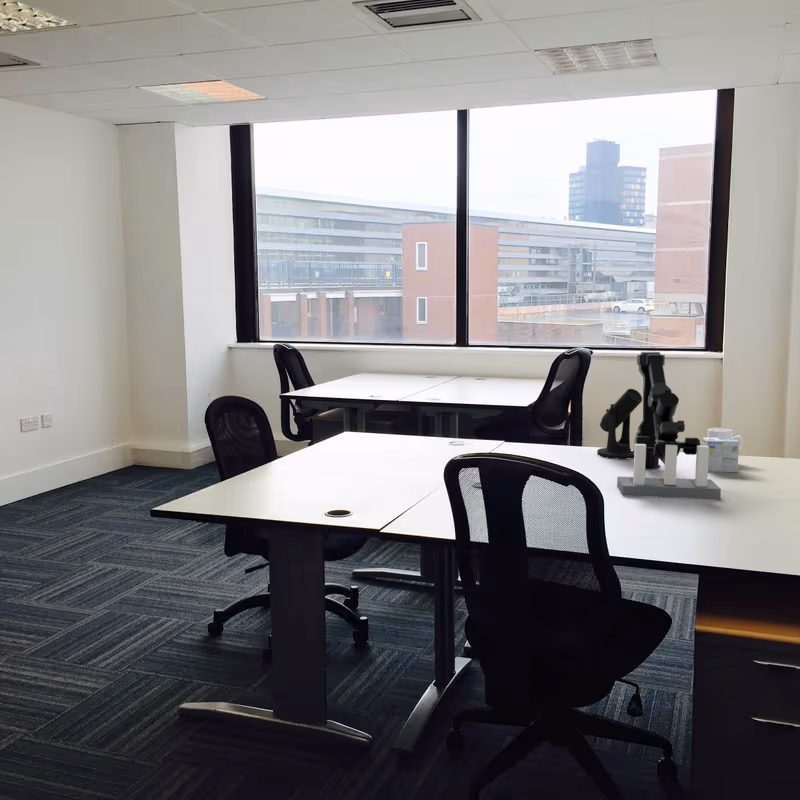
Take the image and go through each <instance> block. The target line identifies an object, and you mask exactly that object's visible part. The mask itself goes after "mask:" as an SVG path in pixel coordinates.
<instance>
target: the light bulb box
mask: <svg viewBox="0 0 800 800" xmlns="http://www.w3.org/2000/svg"><path fill="white" fill-rule="evenodd" d="M701 446H708V447H709V459H708V473H709V472H710V473H711V472H713V473H738V471H739V470H738V469H739V467H738V466H739V453H740V450H739V447H740V441H739V440H738V439H736V438H707V437H702V444H701Z"/></svg>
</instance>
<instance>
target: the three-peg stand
mask: <svg viewBox="0 0 800 800" xmlns="http://www.w3.org/2000/svg"><path fill="white" fill-rule="evenodd" d="M633 450H634V459H633V476H617V479H616V487H617V489H618V488H619V489H618V491H619V493H620V494H621V496H622V495H623V496H624V497H645V496H655V497H656V496H657V497H656V498H675V497H684V498H685V497H687V498H685V499H704V500H705V499H709V500H712V499H713V500H721V495H722V494H721V493H722V488H721V487H720V486H718V485H717V484H716V483H715V482H714V480H712V478H711V479H708V474H709V472H708V459H709V447H708V446H702V445H700V446H697V454H695V457H696V458H695V475H694V476H695V477H694V478H677V477H676V485H665V484H664V477H645V476H646V468H645V460H646V445H645V444H635V449H634V448H633ZM655 497H654V498H655ZM684 498H683V499H684Z"/></svg>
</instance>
